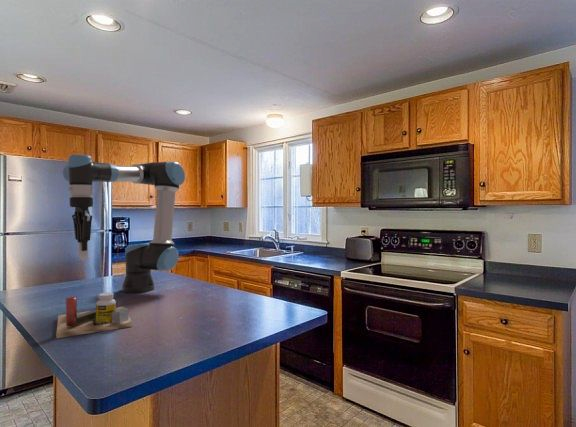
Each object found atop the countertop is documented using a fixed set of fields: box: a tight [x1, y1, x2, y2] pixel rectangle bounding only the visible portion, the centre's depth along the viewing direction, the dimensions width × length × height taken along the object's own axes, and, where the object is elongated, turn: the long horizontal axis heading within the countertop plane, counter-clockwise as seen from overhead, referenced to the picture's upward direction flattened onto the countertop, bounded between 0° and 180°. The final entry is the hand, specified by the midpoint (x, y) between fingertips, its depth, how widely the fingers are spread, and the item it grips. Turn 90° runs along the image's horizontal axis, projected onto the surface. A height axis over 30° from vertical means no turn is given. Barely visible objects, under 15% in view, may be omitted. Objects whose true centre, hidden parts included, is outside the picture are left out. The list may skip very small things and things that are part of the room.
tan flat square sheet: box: [55, 306, 133, 339], centre depth 126 cm, size 22×22×2 cm
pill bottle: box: [95, 292, 117, 326], centre depth 124 cm, size 6×6×11 cm
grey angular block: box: [112, 307, 130, 329], centre depth 123 cm, size 5×3×6 cm, turn 172°
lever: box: [65, 296, 96, 326], centre depth 124 cm, size 16×4×9 cm, turn 162°
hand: (83, 259), depth 133 cm, fingers closed
